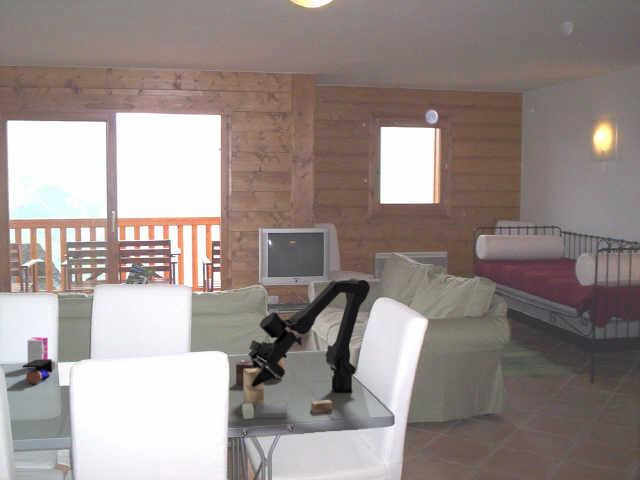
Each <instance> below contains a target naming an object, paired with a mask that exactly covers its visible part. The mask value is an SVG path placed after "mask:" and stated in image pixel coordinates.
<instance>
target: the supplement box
mask: <svg viewBox="0 0 640 480" xmlns="http://www.w3.org/2000/svg"><path fill="white" fill-rule="evenodd" d="M48 341H49V340H48V337H37V336H36V337H32V338H29V339H27V363H29V362H32V361H34V360H40V359H48V357H49V356H48V354H49V353H48V351H49V350H48V348H49V347H48ZM28 369H30V370H29V371H32V370H35V367H27V370H28Z"/></svg>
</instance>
